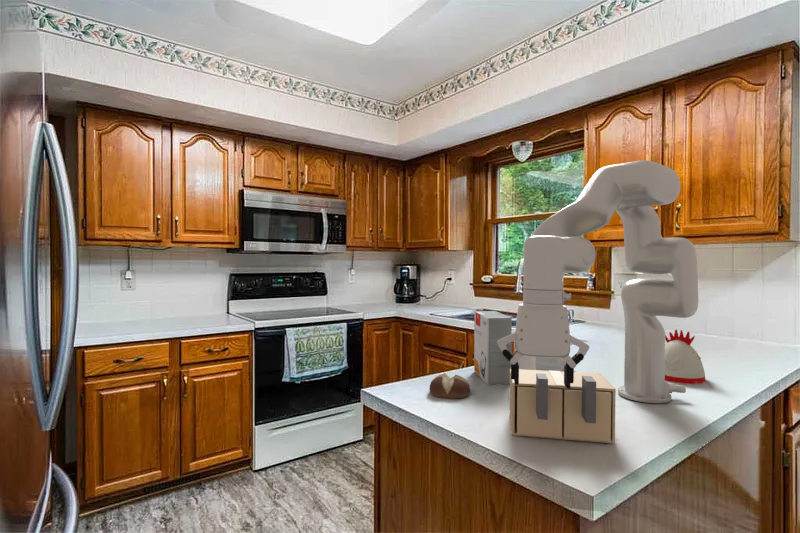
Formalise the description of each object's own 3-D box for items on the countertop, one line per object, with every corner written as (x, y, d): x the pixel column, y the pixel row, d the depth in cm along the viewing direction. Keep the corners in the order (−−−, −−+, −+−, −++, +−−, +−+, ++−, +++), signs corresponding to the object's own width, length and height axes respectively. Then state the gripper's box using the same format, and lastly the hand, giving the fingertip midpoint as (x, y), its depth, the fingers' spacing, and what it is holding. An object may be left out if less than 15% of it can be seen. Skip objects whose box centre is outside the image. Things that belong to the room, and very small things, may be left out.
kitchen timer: (697, 386, 127) (697, 335, 127) (645, 377, 137) (646, 329, 137) (710, 378, 136) (711, 330, 136) (661, 369, 146) (662, 325, 146)
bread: (425, 397, 117) (425, 379, 117) (436, 386, 128) (436, 369, 127) (466, 402, 113) (466, 383, 113) (474, 390, 124) (474, 372, 124)
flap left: (561, 436, 89) (562, 374, 89) (565, 446, 85) (565, 380, 85) (517, 433, 91) (517, 371, 91) (518, 442, 87) (518, 377, 86)
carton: (600, 421, 99) (600, 373, 99) (614, 443, 88) (615, 388, 87) (509, 415, 103) (509, 368, 103) (511, 435, 92) (512, 382, 91)
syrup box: (536, 393, 121) (536, 340, 120) (514, 391, 122) (514, 339, 121) (534, 387, 126) (534, 336, 126) (513, 385, 127) (513, 336, 127)
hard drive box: (473, 371, 143) (473, 310, 143) (496, 371, 144) (496, 310, 143) (486, 385, 127) (487, 317, 127) (512, 385, 128) (512, 317, 128)
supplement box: (567, 369, 147) (567, 324, 146) (561, 375, 139) (561, 328, 139) (539, 365, 152) (540, 322, 151) (532, 371, 144) (532, 325, 144)
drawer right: (610, 440, 87) (610, 376, 87) (616, 450, 83) (617, 382, 83) (563, 437, 89) (564, 374, 89) (567, 446, 85) (568, 380, 85)
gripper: (585, 298, 88) (583, 382, 88) (497, 295, 92) (496, 377, 92) (594, 301, 81) (592, 393, 81) (498, 298, 84) (496, 387, 85)
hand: (541, 384), depth 87 cm, fingers open, 9 cm apart
